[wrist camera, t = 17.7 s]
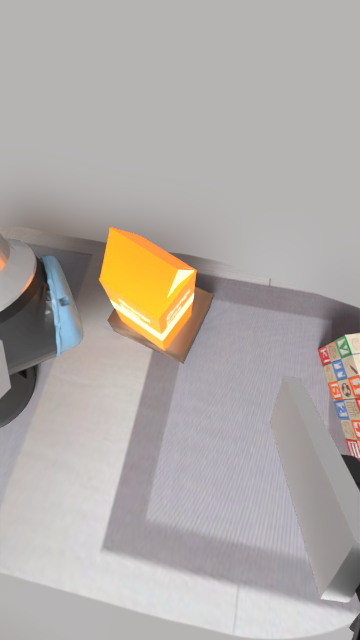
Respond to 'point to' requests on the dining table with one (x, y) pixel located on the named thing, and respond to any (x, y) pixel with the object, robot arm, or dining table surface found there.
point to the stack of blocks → (345, 384)
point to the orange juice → (147, 286)
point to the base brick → (183, 338)
